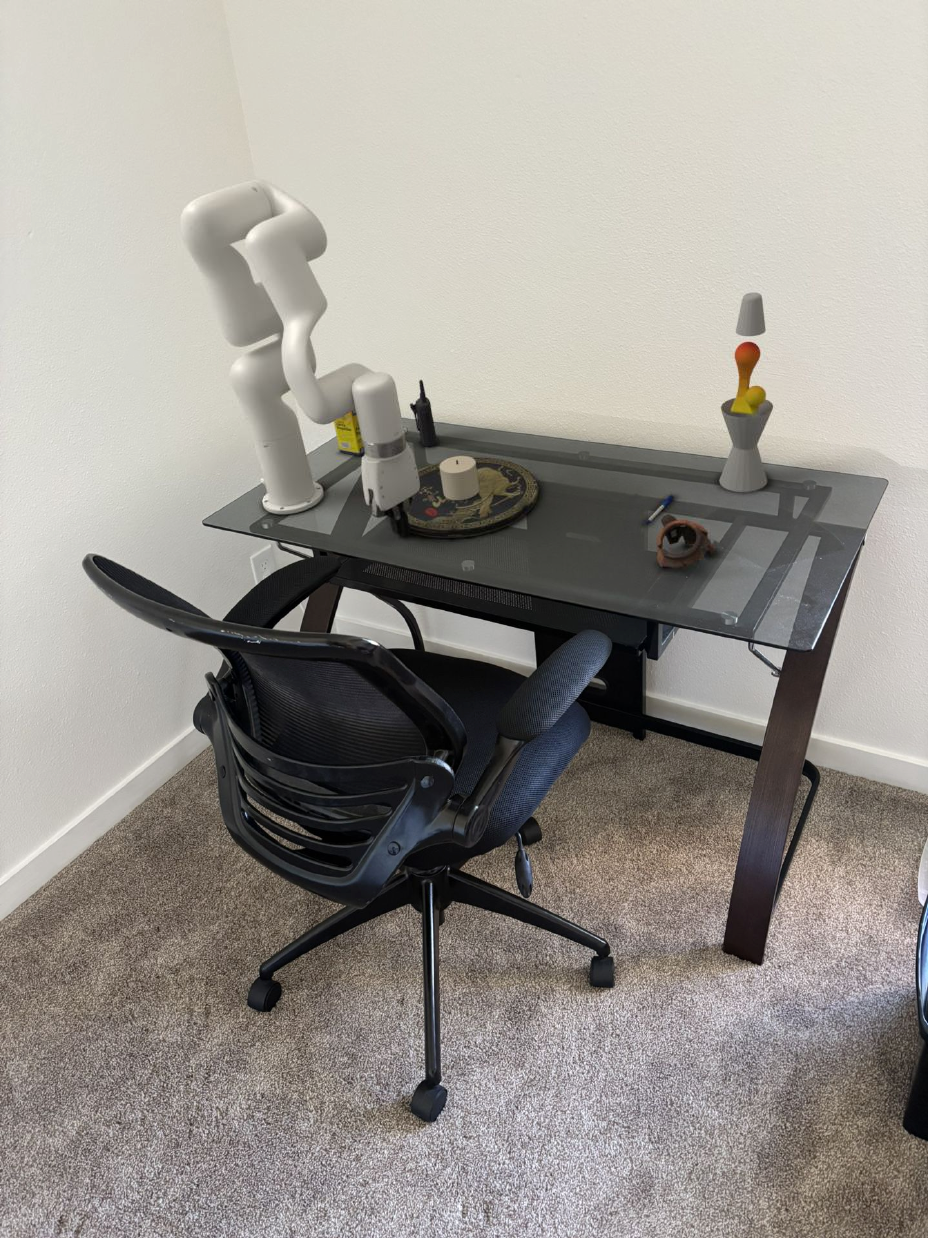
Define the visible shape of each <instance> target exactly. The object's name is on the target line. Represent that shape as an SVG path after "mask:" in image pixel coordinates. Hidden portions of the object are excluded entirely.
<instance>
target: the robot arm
mask: <svg viewBox="0 0 928 1238" xmlns="http://www.w3.org/2000/svg"><path fill="white" fill-rule="evenodd" d="M179 223H180V225H179V227H180V233H181V237H182V239H183V243H184V245H185V247H186V249H187V251H188V253H189V255H190V257H191V258H192V260H193V262H194V263H195V266H196V267H197V269H198V270H199V272H200V274H201V276H202V279H203V281H204V285H205V288H206V291H207V294H208V296H209V300H210V302H211V305H212V309H213V310H214V314H215V316H216V319H217V322H218V325H219V328H220V330H221V332H222V335H223V337H224V338H225V340H226V342H228V343H229V344H230V345H231V346H233V347H237V348H244V347H247V346H251V345H254V344H256V343H259V342H260V341H261V342H262V341H263V340H266V339H267V338H270V337H272V336H273V338H274V340H273V341H271V342H269V343H267V344H264V345H261V346H259V347H257V348H255V349H252V350H250V351H249V352H246V353H245V354H243V355H242V356H240V357H238V358H237V359H236V360H235V361H234V362H233V363H232V365H231V367H230V369H229V382H230V384H231V385H230V386H231V388H232V389H233V392H234V394H235V396H236V397H237V399H238V402H239V404H240V405H241V406H240V407H241V408H242V411H243V414H244V416H245V419H246V422H247V425H248V428H249V433H250V435H251V439H252V442H253V445H254V449H255V453H256V456H257V460H258V463H259V467H260V471H261V473H262V477H261V478H260V480H259V482H260V484H262V485H264V486H265V489H266V493H265V494H264V496H263V498H262V502H261V503H262V506H263V508H264V510H266V511H267V512H268V513H271V514H275V515H292V514H296V513H297V514H298V513H300V512H304V511H307V510H309V509H310V508H312V507H315V506H316V505H318V504H319V503H320V502H321V500H322V499H323V497H324V494H325V493H324V489H323V486H322V485H321V484H319V483H318V482H316V481H314V480H313V476H312V471H311V468H310V464H309V459H308V456H307V452H306V447H305V444H304V439H303V435H302V432H301V431H302V430H301V427H300V423H299V420H298V417H297V414H296V412H295V410H294V409H293V408H292V407H291V406H289V405H288V404H287V403H286V402H284V400H283V399H282V396H283V395H285V394H287V393H289V392H290V391H291V393H292V395H293V396H294V398H295V400H296V402H297V404H298V406H299V408H300V409H301V410H302V412H303V414H305V416H306V417H307V418H308V419H309V420H310V421H311V422H313V423H315V424H317V425H322V426H323V425H325V426H326V425H328V424H331V423H334V421H335V420H337V419H339V418H341V417H343V416H344V415H346V414H348V413H350V412H352V411H354V410H356V413H357V418H358V423H359V428H360V433H361V437H362V442H363V447H364V452H365V453H364V454H363V456H361V461H360V462H361V465H360V466H361V469H360V470H361V484H362V489H363V495H364V500H365V501H364V502H365V504H366V505H367V506H368V507H370V506H371V514H372V517H375V518H377V519H379V518H384V517H385V516H386V517H389V520H390V525H391V526H390V527H391V531H392V533H394V534H395V535H398V536H400V537H402V538H406V537H407V535H410V534H411V532H410V527H409V520H408V515H407V514H409V512H410V504H411V502H412V499H414V498H415V497H416V496H417V495H418V494H419V488H420V482H419V476H418V467H417V463H416V460H415V457H414V454H413V451H412V449H411V447H410V445H409V444H408V443H407V441H406V435H407V434H408V433H409V430H408V428H407V427H406V426H404V424H403V423H404V422H403V419H402V412H401V406H400V402H399V396H398V391H397V386H396V381H395V379H394V378H393V376H391V374H389V373H387V372H381V371H374V370H373V369H371V368H368V367H367V366H365V365H363V364H361V363H357V362H350V363H347V364H345V365H343V366H340V367H338V368H337V369H335V370H332V371H330V372H329V373H327V374H325V375H323V376H321V377H318V378H317V377H316V375H315V374H316V371H317V358H316V354H315V350H314V346H313V342H312V340H311V336H312V333H313V332H314V329H315V327H316V325H317V324H318V322H319V320H320V319H321V318H322V316H324V314H325V313H326V311H327V309H328V305H329V304H328V299H327V298H326V295H325V294H324V291H323V290H322V288H321V286H320V284H319V282H318V280H317V279H316V275H315V274H314V273H313V270H312V268H311V266H310V264H309V262H312V261H313V260H317V259H318V258H320V257H322V256H323V255H324V254H325V252H326V250H327V247H328V237H327V233H326V229H325V228H324V225H323V224H322V222H321V220H320V219H319V218H318V217H317V215H316V214H315V213H314V212H313V211H312V210H311V209H310V208H309V207H307V206H306V205H305V204H304V203H302V202H301V201H299V200H298V199H296V198H295V197H293V196H292V195H290V194H289V193H288V192H286V191H285V190H283V189H282V188H280V187H278V186H277V185H275V184H274V183H272V182H270V181H267V180H265V179H259V178H258V179H257V178H255V179H250V180H246V181H243V182H241V183H237V184H234V185H231V186H228V187H223V188H221V189H217V190H215V191H212V192H209V193H205V194H204V195H201V196H199V197H197V198H194V200H192V201H190V202H189V203H188V204H186V206H185V207H184V208H183V210H182V211H181V215H180V222H179ZM243 240H245V241H244V248H245V252H246V255H247V257H248V258H249V259H248V260H249V261H250V262H251V264H252V266H253V268H254V270H255V273H256V274H257V277H258V278H259V280H260V281H259V282H255V280H254V277H253V274H252V271H251V268H250V265H249V263H248V260H246V258H245V257H244V255H242V253H240V251H239V250H238V249H236V248H235V247H234V246H233V244H235V243H237V242H240V241H243Z"/></svg>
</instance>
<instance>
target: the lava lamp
mask: <svg viewBox="0 0 928 1238" xmlns="http://www.w3.org/2000/svg"><path fill="white" fill-rule="evenodd" d="M763 302H764V301H763V296H762V294H760V293H759V292H747V293H745V294H743V295H742V298H741V303H740V308H739V314H738V318H737V323H736V328H735V334H736V335H738V336H741V337H757V336H760V335H763V334H765V333H766V331H767V329H766V321H765V320H766V319H765V312H764V311H765V310H764V303H763ZM760 358H761V348H760V347H759V346H758V344H757V343H755V342H753V341H744V342H742V343H740V344H739V345H738V346H737V347H736V348H735V351H734V360H735V363H736V367H737V374H738V387H737V392H736V395H735V397H734V398H730V399H728V400H725V401H724V402H723V403H722V404H721V405H720V411H721V415H722V417H723V419H724V422H725V427H726V429H727V432H728V434H729V436H730V440H731V443H732V446H731V449H730V452H729V454H728V457H727V459H726V461H725V465H724V467H723V469H722V472H721V474H720V478H719V485H720V486H721V487H722V488H724V489H726V490H728V491H731V492H735V493H750V492H755V491H759V490H761V489H763V488H764V487H765V486H767V483H768V478H767V475H766V471H765V468H764V464H763V460H762V457H761V453H760V451H759V447H758V443H759V441H760V439H761V438H762V435H763V433H764V430H765V427H766V425H767V423H768V421H769V418H770V417H771V414H772V412H773V409H774V404H773V403H772V402H771V401H770V400H768V399H767V393H766V390H765V389H764V388H763V387H762V386H760V385H752V386H750V382H751V378H752V375H753V372H754V369H755V368H756V366H757V364H758V362H759V361H760Z"/></svg>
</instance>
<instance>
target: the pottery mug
mask: <svg viewBox="0 0 928 1238" xmlns="http://www.w3.org/2000/svg"><path fill="white" fill-rule="evenodd" d="M660 522H661V524H662V527H663V528H662V529H661V530H660V532H659V533H658V536H657V538H656V550H657V556H656V560H657V562H658V565H659V566H660V568H664V567H667V568H684V567H685V566H690V565H692V564H693V563H695V562H696V561H699V560H700V561H701V560H705V556H704V554H703V551H702V548H706V549H707V550H708V551H709V553H710V555H714V546H713V542H712V541H711V540H710V538H708V537H709V536H708V534H709V532H708V531H707V530H706V528H704V527H703V526H702V525H700V524H698V523H696V522H694V521H693V522H692V521H691V520H690V521H689V520H687V519H678V518H676V517H675V516H674V515H672V514H670V513H666V514H665V515H663V516H662V517H661V519H660ZM665 537H666V541H667V543H668V545H670V546H672V545H674V544H678V543H679V541H680V539H681V538H683V541H684V545H685V547H686V546H687V547H688V546H690V545H692V547H690V548H689V549H687V550H686V551H684V552H680V553H673V552H670V551H668V550H667V549H665V548H663V547H664V544H663V540H664V538H665Z"/></svg>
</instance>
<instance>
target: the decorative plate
mask: <svg viewBox="0 0 928 1238" xmlns="http://www.w3.org/2000/svg"><path fill="white" fill-rule="evenodd" d="M472 458H473V459H474V460H475V462H476V469H477V477H478V484H479V492H478V493H477V494H476V495H475V496H473V497H471V498H469V499H465V500H451V499H448V498H446V497H445V496H444V492H443V486H442V479H441V473H440V464H441V463H442V462H443V461H441V462H438V463H434V464H431V465H428V466H425V467H423V468H420V469H417V471H418V476H419V482H420V488H419V494H418V495H417V496H416V497H415V498H414V499H412V502H411V504H410V512H409V514H407V515H408V520H409V527H410V533H411V534H414V535H417V536H421V537H422V536H423V537H428V538H435V539H458V538H461V539H462V538H468V537H474V536H475V537H476V536H480V535H484V534H488V533H491V532H492V533H493V532H495V531H498V530H500V529H503V528H505V527H509V526H510V525H512V524H513V523H516V522H517V521H519V520H520V519H521V518H523V517H524V516H526V515H527V514H528V513H529V512H530V511H531V509H532V508H533V507H534V506H535V504H536V502H537V500H538V497H539V485H538V483H537V479H536V477H535V476H534V475H533V473H531V471H530V470H527V468H525V467H524V466H522V465H519V464H517V463H515V462H513V461H509V460H504V459H500V458H492V457H472Z"/></svg>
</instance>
